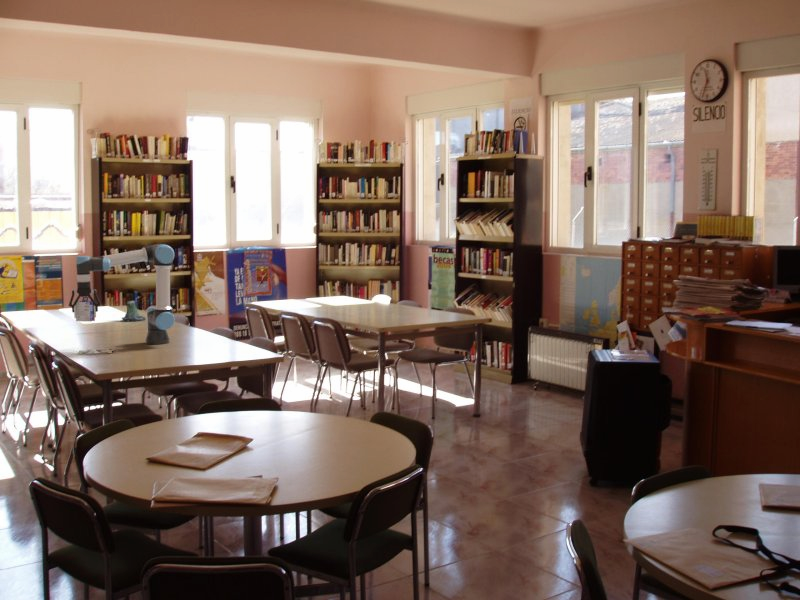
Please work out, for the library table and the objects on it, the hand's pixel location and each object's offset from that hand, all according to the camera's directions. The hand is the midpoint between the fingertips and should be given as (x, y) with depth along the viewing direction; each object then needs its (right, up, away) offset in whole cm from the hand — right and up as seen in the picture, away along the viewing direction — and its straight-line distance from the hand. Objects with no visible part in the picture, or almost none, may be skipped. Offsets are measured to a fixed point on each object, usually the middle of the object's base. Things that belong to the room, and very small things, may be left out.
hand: (85, 317), depth 520 cm
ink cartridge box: (0, -2, 0) cm, 2 cm away
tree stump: (-16, -6, +148) cm, 149 cm away
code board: (+5, -21, +4) cm, 22 cm away
